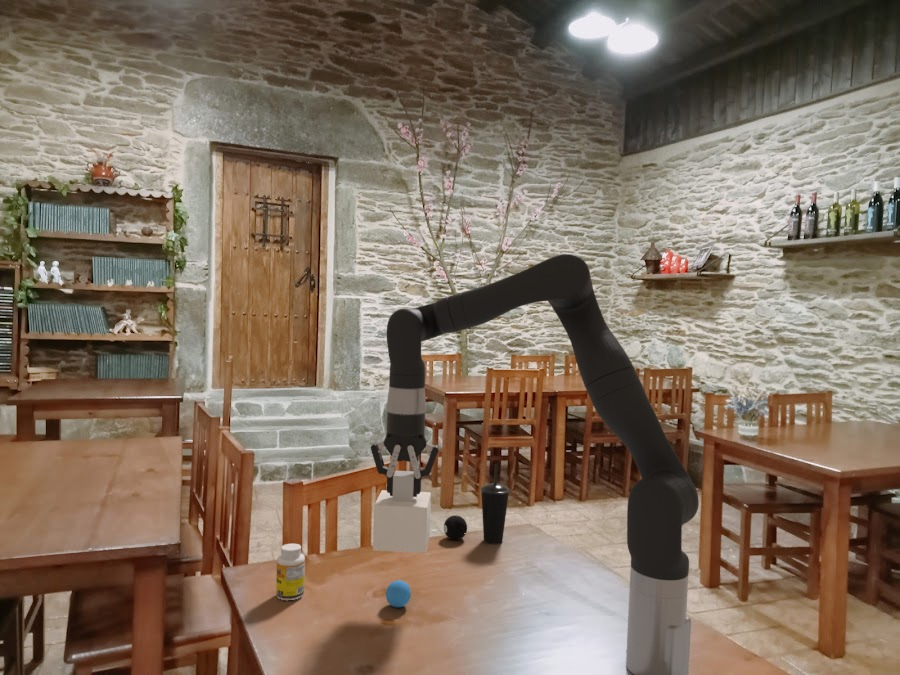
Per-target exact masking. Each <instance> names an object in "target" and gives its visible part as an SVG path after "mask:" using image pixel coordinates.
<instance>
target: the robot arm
mask: <svg viewBox="0 0 900 675" xmlns="http://www.w3.org/2000/svg"><path fill="white" fill-rule="evenodd" d="M546 301H547V302H548V303H549V305H550V307H551V308H552V309H553V311H554V313H555V314H556V316H557V318H558V319H559V321H560V323H561V325H562V327H563V329H564V330H565V332H566V334H567V336H568V339H569V342H570V344H571V347H572V351H573V354H574V358H575V362H576V365H577V368H578V372H579V374H580V378H581V380H582V383H583V385H584V387H585V390H586V392H587V394H588V396H589V399H590V401H591V404H592V405H593V407H594V409H595V411H596V413H597V415H598V416H599V417H600V419H601V420H602V421H603V422H604V424H605V425H606V426H607V427H608V428H609V429H610V430H611V432H612V433H613V434H614V435H615V436H616V437H617V438H618V439H619V440H620V441H621V443H622V444H623V445H624V446H625V447H626V449H627V450H628V452H629V454H630V455H631V457H632V458H633V462H635V465H636V467H637V470H638V473H639V474H640V479H639V480H638V481H636V482H635V483H634V484H633V486H632V487H631V488H630V492H629V495H628V499H627V512H626V514H627V515H626V516H627V518H626V521H627V522H626V542H627V548H628V552H629V554H630V572H629V574H630V576H629V590H628V591H629V592H628V616H627V634H626V635H627V636H626V649H625V650H626V651H625V652H626V657H625V659H626V660H625V665H626V668H627V669H628V671H629V672H630V673H631V674H632V675H689V674H690V673H689V671H690V670H689V669H690V668H689V667H690V655H691V654H690V650H691V636H692V635H691V633H692V620H691V618H690V617H688V616H687V611H688V610H687V607H688V592H689V591H688V590H689V588H688V587H689V572H690V558H689V556H688V555H687V553H686V552H684V551H683V549H682V546H683V545H682V538H683V537H682V533H683V525H685V524H687V523H688V522H690V521H691V520H692V519H693V518H694V517H695V516H696V514H697V512H698V509H699V504H700V503H699V502H700V501H699V495H698V491H697V487H696V486H695V484H694V483H693V480H692V479H691V476H690V475H689V473H688V472H687V470H686V469H685V467H684V465H683V464H682V462H681V461H680V458H679V457H678V455H677V454H676V452H675V450H674V448H673V447H672V445H671V443H670V441H669V440H668V438H667V436H666V434H665V432H664V430H663V427H662V425H661V423H660V421H659V418H658V416H657V414H656V412H655V410H654V407H653V406H652V403H651V402H650V399H649V398H648V395H647V393H646V390H645V388H644V386H643V384H642V381H641V379H640V377H639V375H638V373H637V371H636V369H635V367H634V365H633V363H632V360H631V359H630V358H629V355H628V353H627V352H626V351H625V349H624V348H623V345H622V344H621V342H619V340H618V339H617V337H616V336H615V335H614V334H613V332H612V331H611V329H610V327H609V326H608V324H607V323H606V320H605V317H603V314H602V310H601V308H600V306H599V302H598V300H597V297H596V293H595V290H594V287H593V281H592V277H591V272H590V269H589V266H588V264H587V263H586V261H585V260H584V259H583V258H582V257H580V256H578V255H577V254H574V253H568V252H566V253H560V254H556V255H554V256H551V257H549V258H547V259H545V260H542V261H541V262H538V263H536V264H535V265H532V266H530V267H528V268H526V269H524V270H521V271H519V272H516V273H514V274H512V275H510V276H507V277H504V278H503V279H500V280H497V281H494V282H491V283H489V284H486V285H483V286H479V287H475V288H473V289H469V290H465V291H462V292H459V293H456V294H455V293H454V294H452V295H448V296H445V297H443V298H440V299H438V300H437V301H435V302H431V303H428V304H425V305H421V306H417V307H414V308H413V307H412V308H400V309H397V310H396V311H394V312H393V313H392V314H391V315H390V316H389V319H388V321H387V325H386V342H387V343H386V344H387V350H388V352H387V354H388V358H389V363H390V364H389V365H390V367H389V380H388V381H389V382H388V384H389V386H388V394H387V403H386V435H385V437H384V439H383V441H380V442H373V443H372V444H371V446H370V451H371V454H372V458H373V460H374V463H375V467H376V471H377V473H378V474H379V475H384V476H385V477H386V490H387V492H388V493H390V496H393V475H394V473H395V471H396V468H397V465H398V462H402V461H405V462H409V463H410V464H411V468H412V471H414V476H415V477H414V490H413V497H417V494H420V492H422V478H423V477H427V476H429V475H430V474H431V471H432V469H433V467H434V463H435V461H436V458H437V455H438V453H439V451H440V446H439V445H438V444H431V443H428V440H426V436H425V432H426V431H425V427H426V425H425V424H426V398H427V397H426V389H425V388H426V363H425V361H424V359H423V358H422V342H425V341H428V340H430V339H434V338H436V337H439V336H442V335H445V334H450V333H456V332H460V331H464V330H468V329H470V328H474V327H478V326H480V325H483V324H487V323H488V322H491V321H493V320H495V319H497V318H499V317H501V316H502V315H505V314H506V313H509V312H510V311H512V310H515V309H518V308H520V307H523V306H526V305H529V304H534V303H539V302H546ZM384 447H385V449H386V450H387V452H388V454H389V455H390V456H391V457H390V460H389V465H388V467H387V466H386V465H385V462H384V458H383V455H382V453H383V452H384ZM425 449H426V455H427V456H428V457H429V458H428V460H427V461H426V462H427V463H426V465H425V467H424V468H421V464H420V458H419V456H420V455H421V454H422V452H423V451H424V450H425Z"/></svg>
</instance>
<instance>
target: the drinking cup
mask: <svg viewBox="0 0 900 675" xmlns="http://www.w3.org/2000/svg"><path fill="white" fill-rule="evenodd" d="M493 480H494V481H493V482H492V483H487V484H485V485H481V487H480V489H479V490H480V491H481V510H482V529H483V531H482V532H483V534H482V535H483V541H484V543H486V544H493V545H498V543H499V544H501V543H503V539H504V530H505V523H506V517H507V516H506V515H507V510H508V502H509V501H508V500H509V495H510V492H511V489H510V488H509V487H508V486H505V485H503V484H501V483H497V482H498V463H495V464H494V474H493Z"/></svg>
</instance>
